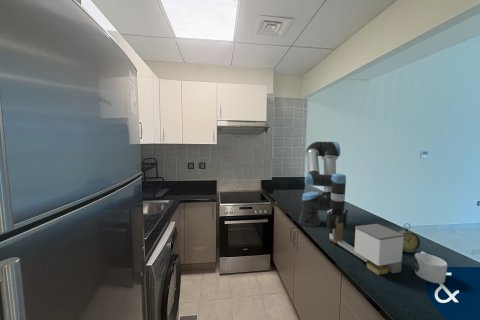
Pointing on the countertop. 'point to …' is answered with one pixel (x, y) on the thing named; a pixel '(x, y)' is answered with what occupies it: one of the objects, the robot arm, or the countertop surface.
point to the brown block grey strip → (338, 238)
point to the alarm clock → (410, 240)
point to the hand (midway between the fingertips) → (335, 238)
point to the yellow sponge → (377, 268)
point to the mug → (430, 267)
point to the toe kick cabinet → (380, 245)
